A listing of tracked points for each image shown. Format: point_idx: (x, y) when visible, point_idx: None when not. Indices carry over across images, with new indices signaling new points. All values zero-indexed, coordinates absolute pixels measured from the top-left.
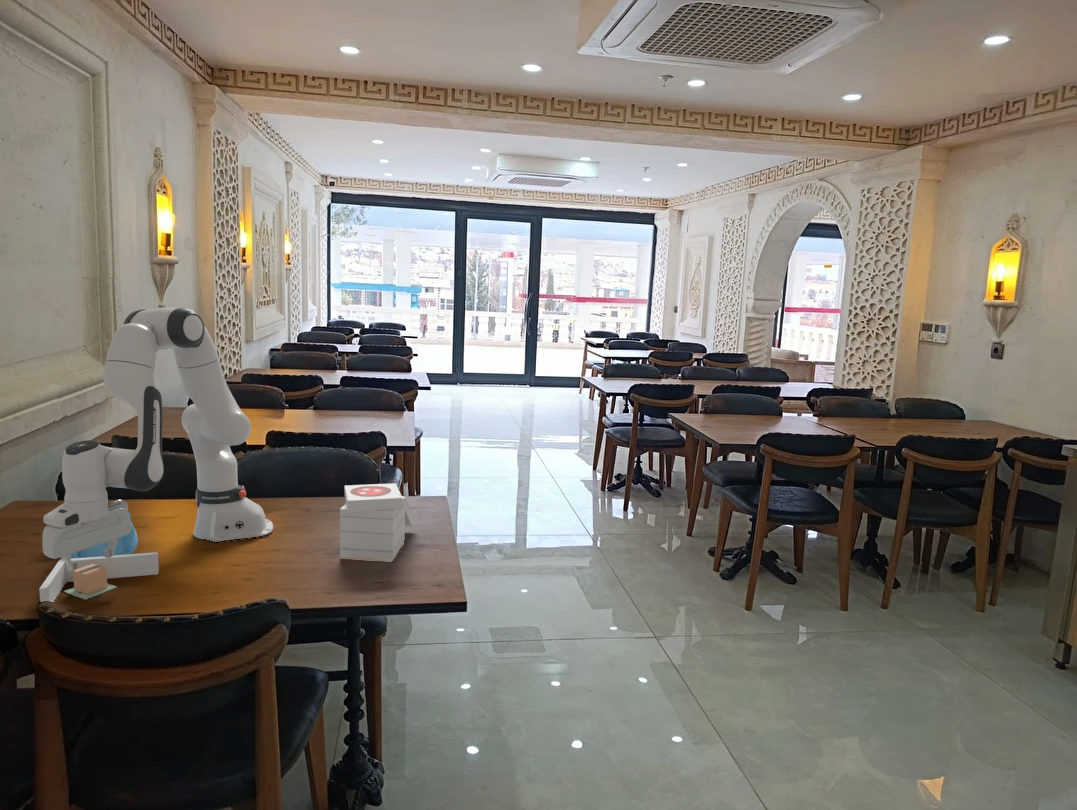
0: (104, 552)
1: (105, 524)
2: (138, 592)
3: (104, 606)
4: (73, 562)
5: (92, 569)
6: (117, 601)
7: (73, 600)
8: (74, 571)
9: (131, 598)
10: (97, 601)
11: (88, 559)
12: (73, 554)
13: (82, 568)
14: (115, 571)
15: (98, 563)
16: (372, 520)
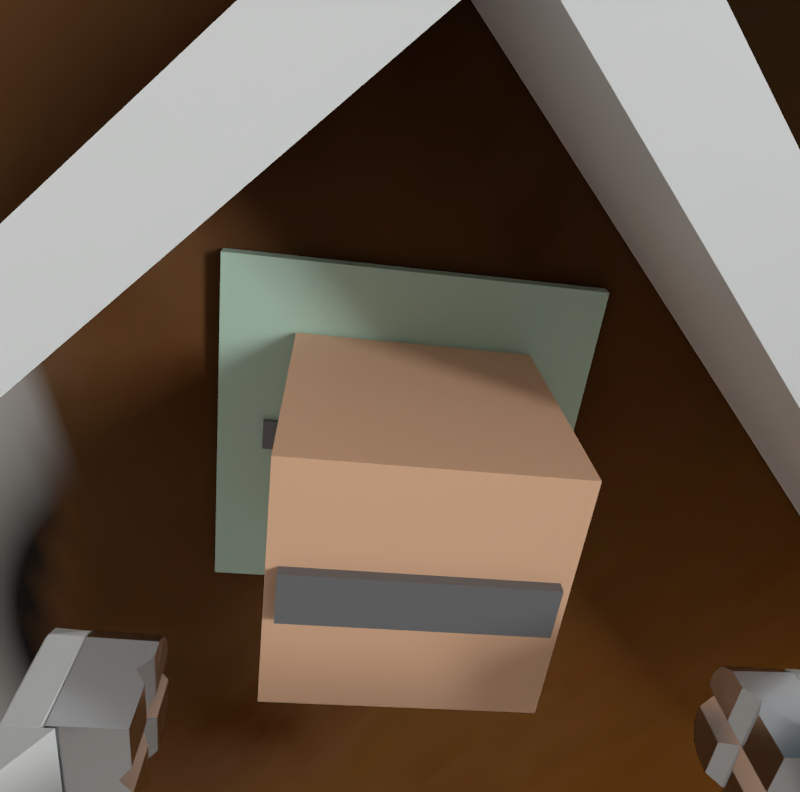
0: (759, 727)
1: None
2: (512, 757)
3: (212, 751)
4: (104, 782)
5: (420, 636)
6: (322, 757)
7: (150, 490)
8: (271, 480)
9: (406, 789)
10: (247, 657)
11: (730, 294)
12: None
13: (390, 509)
14: (769, 441)
15: (754, 366)
16: None
